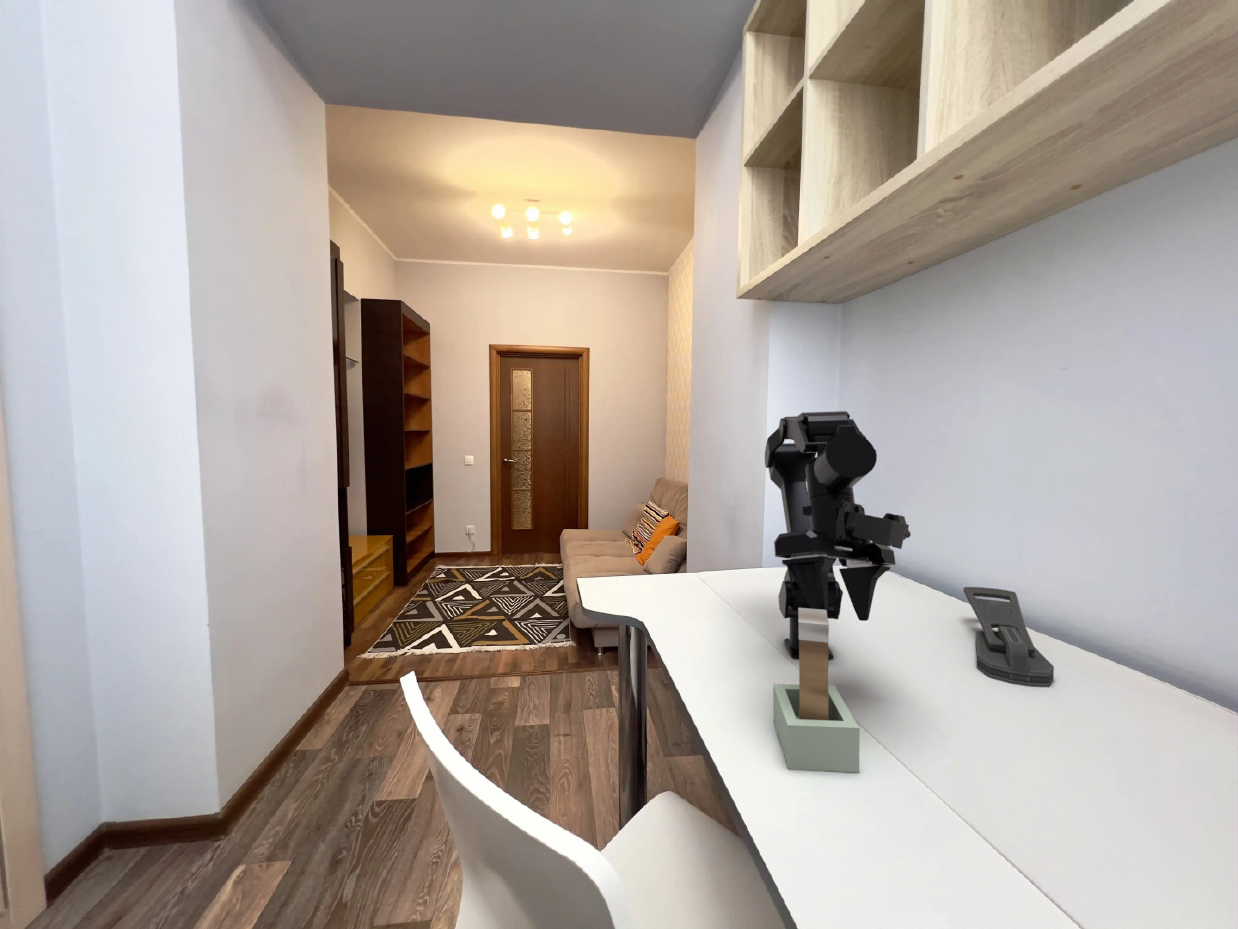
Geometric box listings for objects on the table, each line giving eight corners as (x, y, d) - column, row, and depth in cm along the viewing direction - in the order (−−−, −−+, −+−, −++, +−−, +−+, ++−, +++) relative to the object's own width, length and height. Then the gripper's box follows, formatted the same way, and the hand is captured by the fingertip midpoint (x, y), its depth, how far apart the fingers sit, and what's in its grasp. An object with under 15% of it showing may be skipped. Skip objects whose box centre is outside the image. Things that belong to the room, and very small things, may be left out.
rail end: (799, 719, 62) (798, 607, 61) (826, 724, 61) (826, 609, 60) (799, 742, 57) (798, 622, 56) (828, 747, 56) (828, 624, 55)
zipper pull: (1019, 590, 91) (1062, 645, 69) (1018, 626, 91) (1060, 692, 69) (959, 584, 95) (981, 634, 73) (958, 619, 95) (980, 679, 73)
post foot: (773, 722, 64) (773, 683, 64) (834, 724, 63) (834, 685, 63) (787, 769, 55) (787, 725, 55) (859, 772, 54) (859, 728, 54)
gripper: (848, 473, 57) (865, 618, 52) (926, 499, 67) (947, 622, 63) (767, 492, 66) (776, 617, 61) (848, 512, 76) (860, 621, 71)
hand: (843, 619), depth 64 cm, fingers open, 9 cm apart
